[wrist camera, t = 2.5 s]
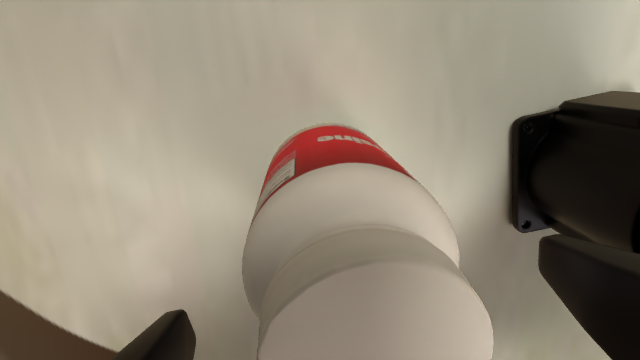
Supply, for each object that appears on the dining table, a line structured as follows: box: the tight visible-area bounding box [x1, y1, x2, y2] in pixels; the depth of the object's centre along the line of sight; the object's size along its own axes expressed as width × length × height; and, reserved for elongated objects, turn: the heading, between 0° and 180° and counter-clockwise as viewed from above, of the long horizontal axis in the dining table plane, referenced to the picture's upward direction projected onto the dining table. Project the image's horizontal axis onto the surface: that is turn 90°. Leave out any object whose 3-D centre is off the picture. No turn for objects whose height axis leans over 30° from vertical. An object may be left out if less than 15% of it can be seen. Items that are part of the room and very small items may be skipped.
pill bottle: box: [242, 123, 494, 360], centre depth 11 cm, size 6×6×11 cm
